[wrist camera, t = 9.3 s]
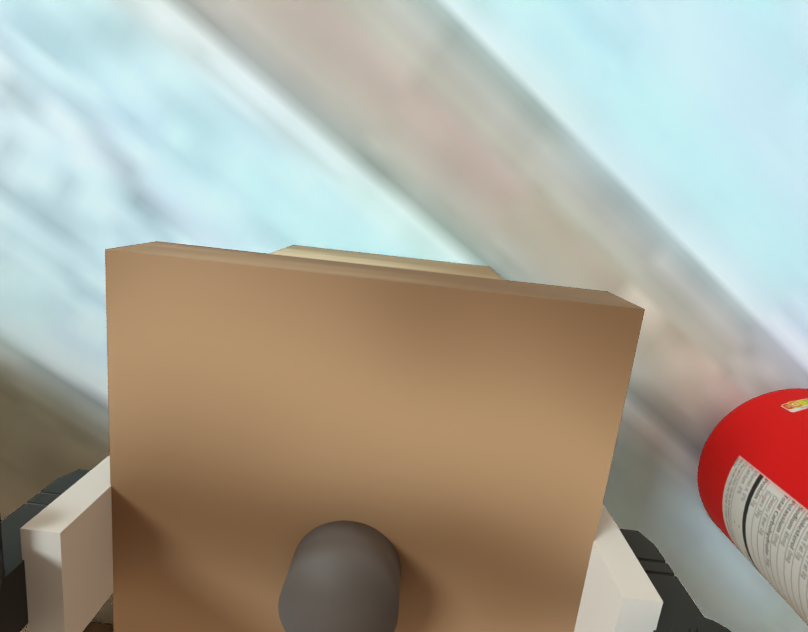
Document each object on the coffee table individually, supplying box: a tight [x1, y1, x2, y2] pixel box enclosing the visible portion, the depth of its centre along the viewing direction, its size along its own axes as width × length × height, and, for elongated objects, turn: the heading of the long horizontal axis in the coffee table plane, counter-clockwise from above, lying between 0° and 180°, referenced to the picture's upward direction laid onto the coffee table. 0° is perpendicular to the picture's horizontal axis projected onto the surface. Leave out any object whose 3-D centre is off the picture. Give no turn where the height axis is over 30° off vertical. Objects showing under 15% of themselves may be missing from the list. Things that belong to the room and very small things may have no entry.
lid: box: [105, 241, 645, 632], centre depth 12 cm, size 13×10×3 cm
